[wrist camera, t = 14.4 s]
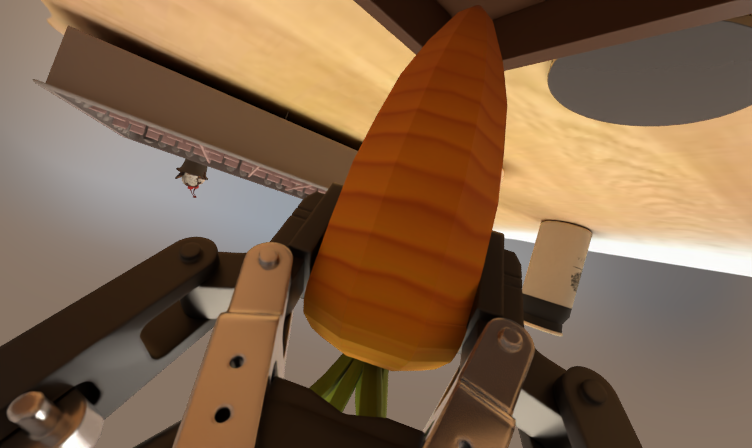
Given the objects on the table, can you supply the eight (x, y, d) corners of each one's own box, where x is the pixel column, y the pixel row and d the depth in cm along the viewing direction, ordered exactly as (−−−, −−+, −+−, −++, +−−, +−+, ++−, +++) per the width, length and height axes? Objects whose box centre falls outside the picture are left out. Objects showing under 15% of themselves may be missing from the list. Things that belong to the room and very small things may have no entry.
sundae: (226, 142, 84) (206, 201, 83) (200, 134, 84) (179, 192, 83) (214, 133, 77) (192, 197, 76) (185, 124, 77) (163, 188, 76)
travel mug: (542, 225, 65) (516, 318, 64) (540, 216, 58) (510, 319, 57) (590, 236, 61) (563, 335, 60) (594, 227, 54) (564, 339, 53)
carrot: (426, 54, 14) (313, 407, 14) (381, -54, 10) (207, 461, 9) (556, 58, 12) (432, 479, 11) (572, -77, 8) (369, 597, 7)
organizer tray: (59, 4, 34) (22, 99, 33) (403, 158, 50) (382, 224, 49) (136, 95, 63) (117, 146, 63) (337, 173, 79) (323, 215, 78)
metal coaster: (793, -33, 12) (789, -19, 12) (791, 109, 18) (789, 117, 18) (519, 45, 20) (517, 53, 20) (583, 125, 26) (582, 131, 26)
